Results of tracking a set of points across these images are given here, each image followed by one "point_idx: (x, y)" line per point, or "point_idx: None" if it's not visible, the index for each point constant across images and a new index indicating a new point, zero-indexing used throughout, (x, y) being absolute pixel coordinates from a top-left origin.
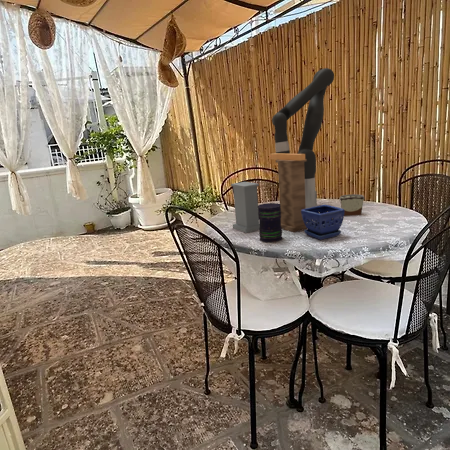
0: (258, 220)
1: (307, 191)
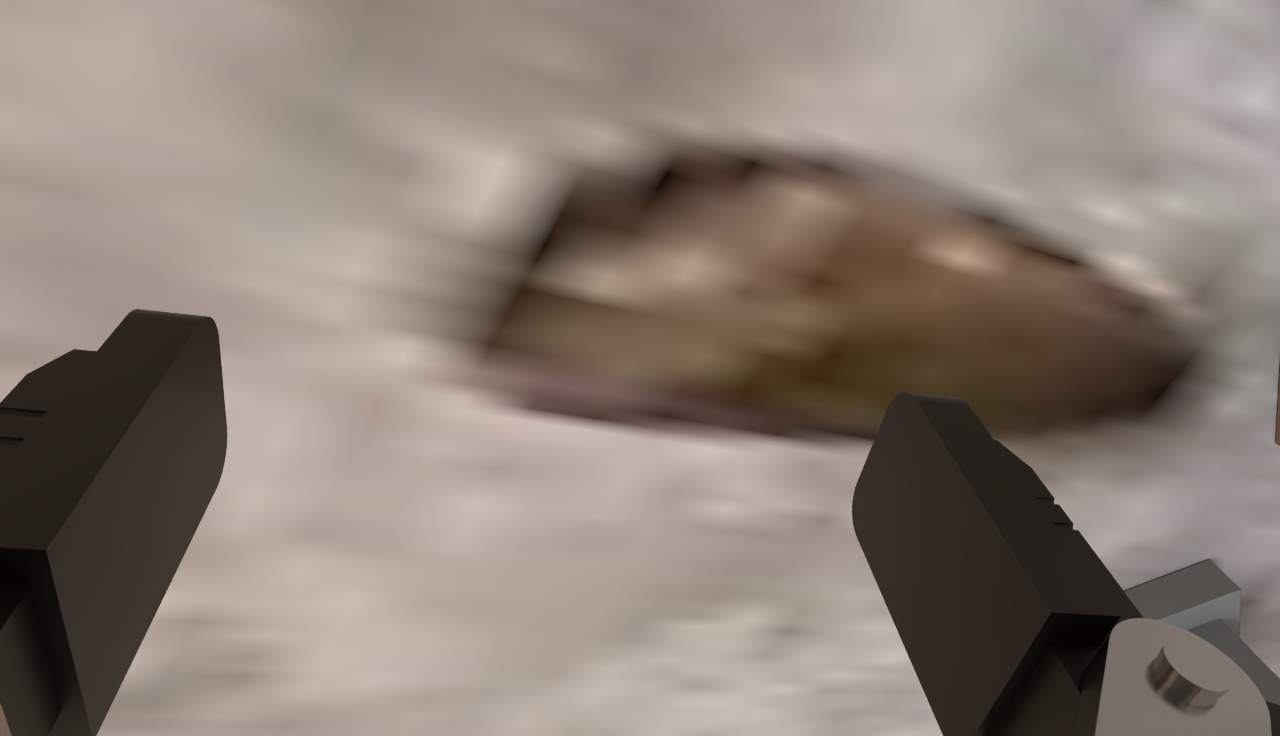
0: (1257, 660)
1: None
